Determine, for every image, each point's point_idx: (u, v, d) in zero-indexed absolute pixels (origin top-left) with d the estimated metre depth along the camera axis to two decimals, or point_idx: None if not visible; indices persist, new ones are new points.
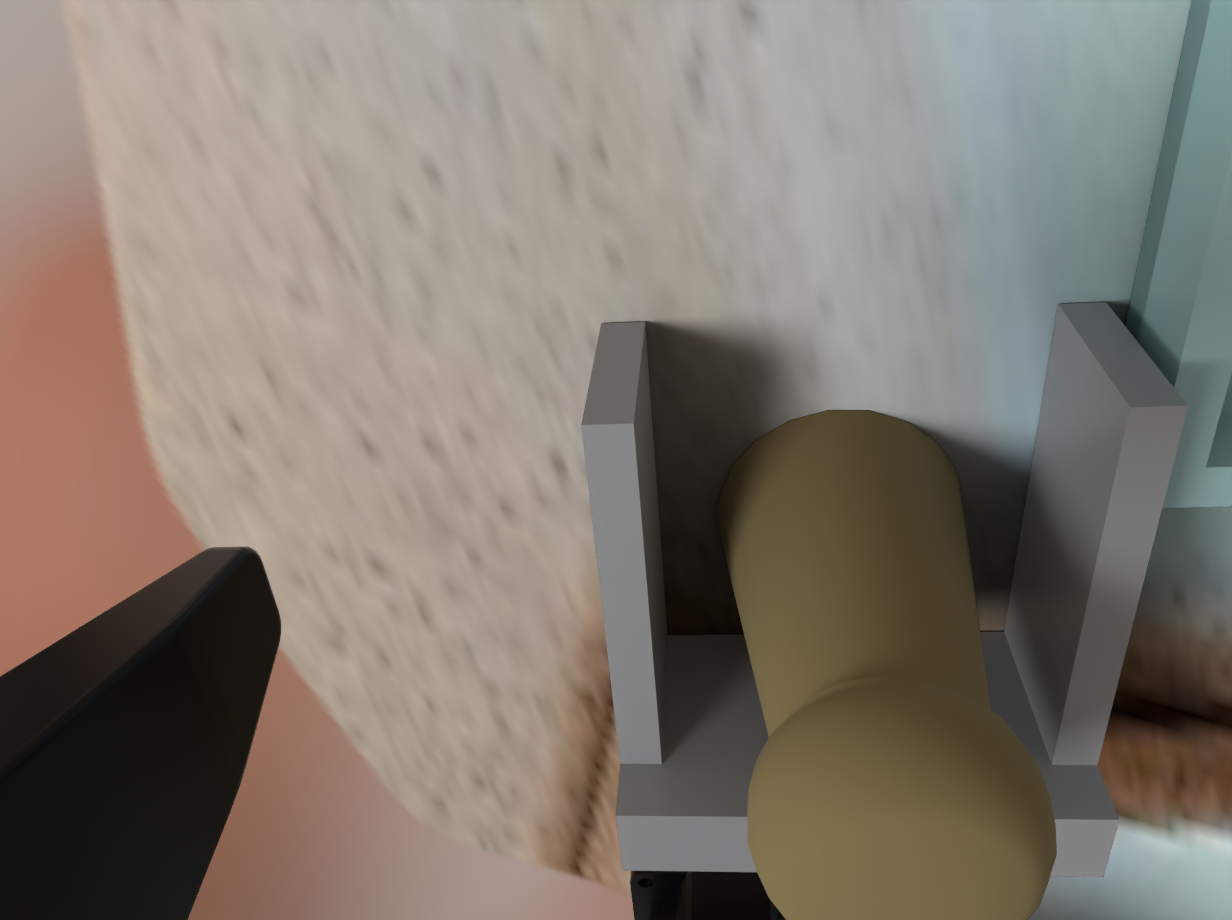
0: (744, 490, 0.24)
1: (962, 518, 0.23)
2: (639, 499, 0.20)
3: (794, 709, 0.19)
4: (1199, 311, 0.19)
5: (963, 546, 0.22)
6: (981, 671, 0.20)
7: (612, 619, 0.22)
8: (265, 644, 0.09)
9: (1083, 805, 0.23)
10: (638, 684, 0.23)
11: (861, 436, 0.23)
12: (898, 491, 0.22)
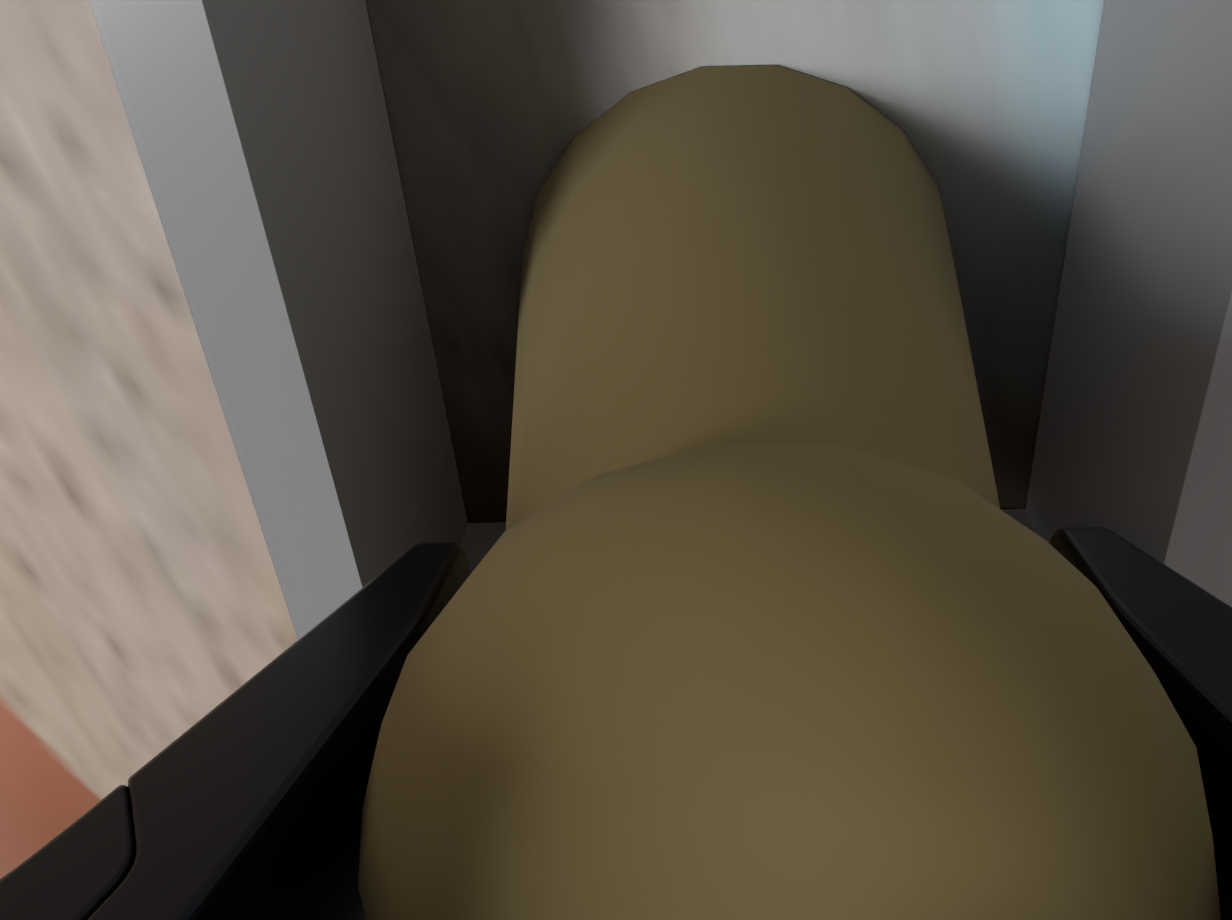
0: (544, 214, 0.13)
1: (950, 245, 0.12)
2: (235, 118, 0.09)
3: None
4: None
5: (951, 278, 0.11)
6: (989, 476, 0.08)
7: (243, 420, 0.11)
8: None
9: None
10: (325, 563, 0.12)
11: (755, 92, 0.12)
12: (818, 160, 0.11)
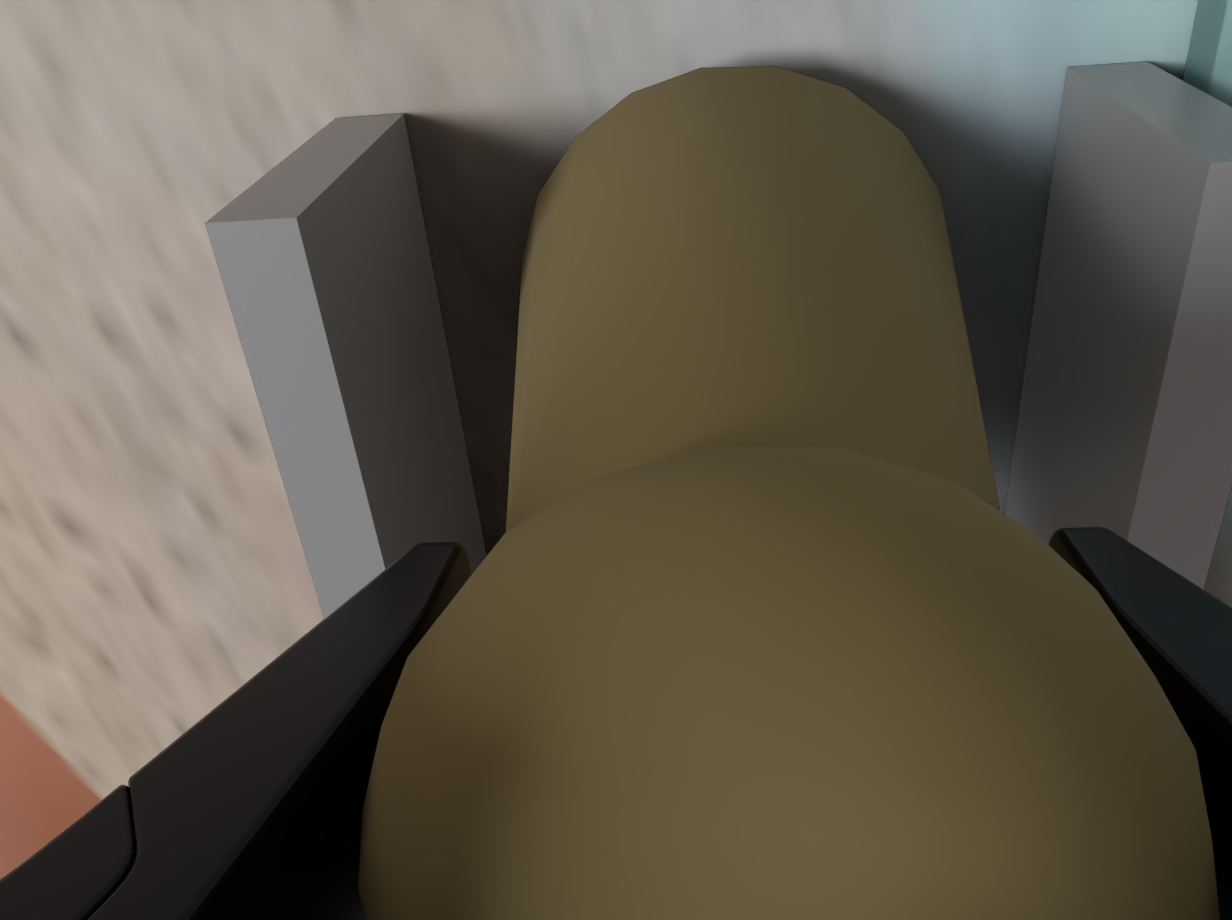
0: (544, 216, 0.13)
1: (949, 247, 0.12)
2: (335, 370, 0.12)
3: None
4: None
5: (951, 279, 0.11)
6: (989, 478, 0.08)
7: (329, 588, 0.13)
8: None
9: None
10: None
11: (755, 93, 0.12)
12: (818, 161, 0.11)
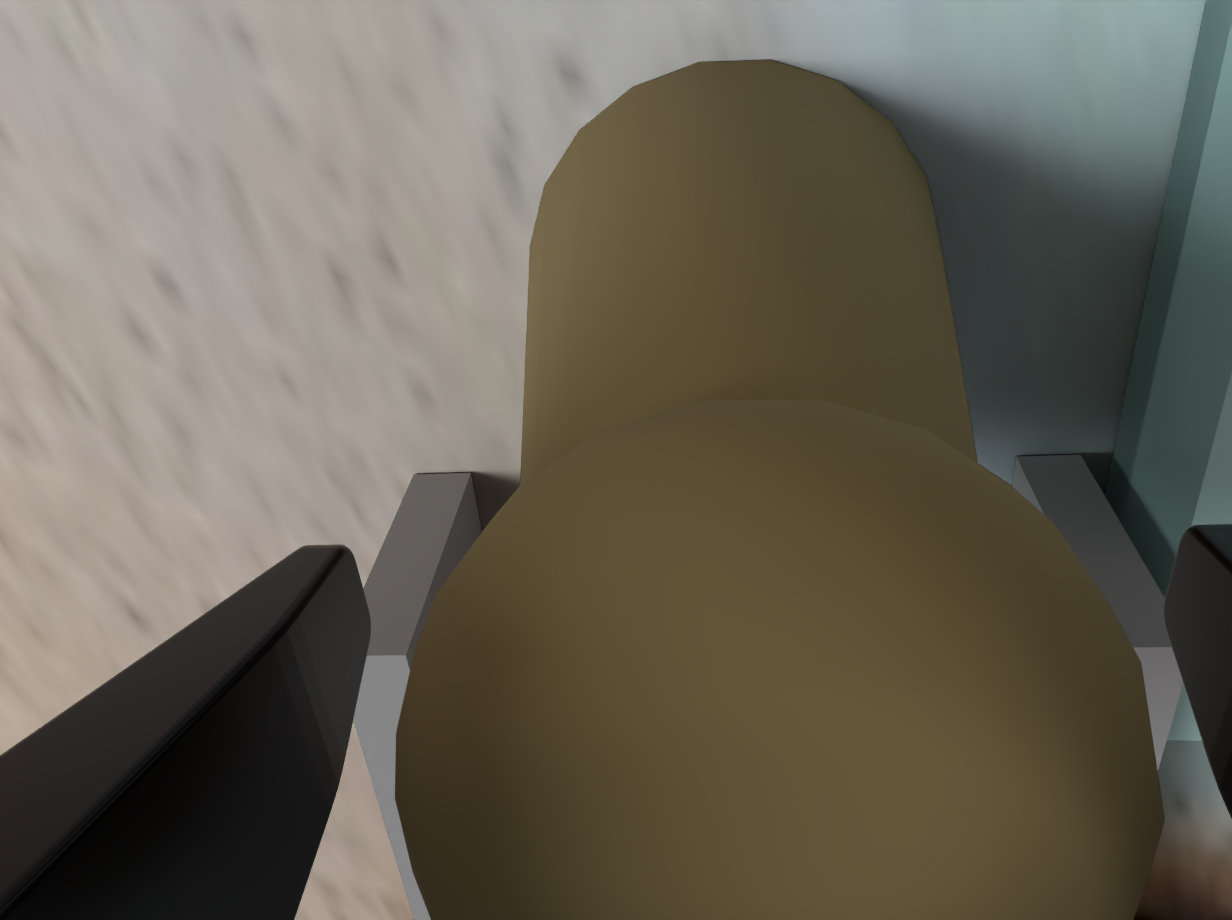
0: (551, 203, 0.14)
1: (935, 228, 0.13)
2: None
3: None
4: (1208, 498, 0.13)
5: (935, 258, 0.12)
6: (967, 436, 0.09)
7: (414, 885, 0.16)
8: (358, 643, 0.09)
9: None
10: None
11: (750, 85, 0.13)
12: (808, 148, 0.12)
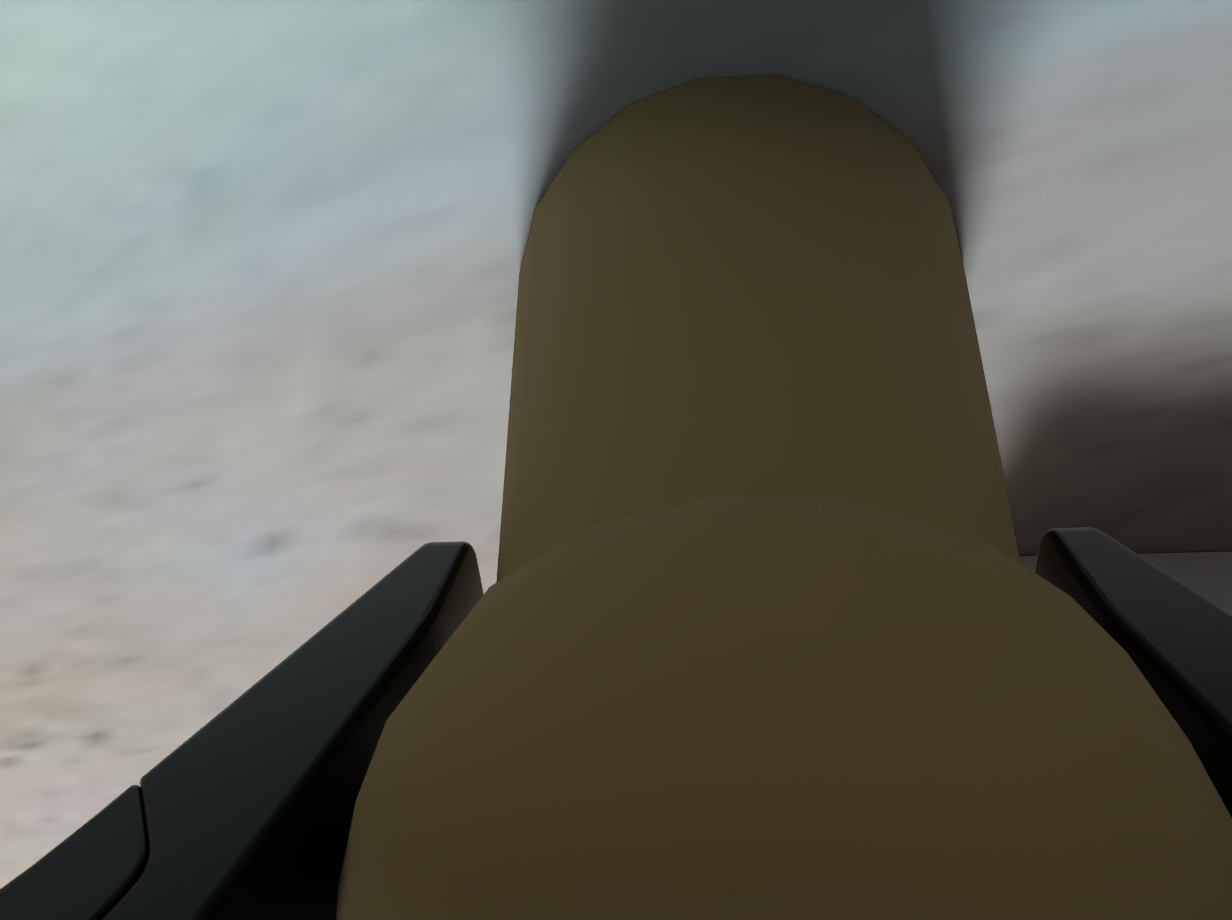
0: None
1: (627, 166, 0.11)
2: None
3: None
4: None
5: (616, 217, 0.10)
6: (620, 417, 0.08)
7: None
8: None
9: None
10: None
11: None
12: (519, 336, 0.12)
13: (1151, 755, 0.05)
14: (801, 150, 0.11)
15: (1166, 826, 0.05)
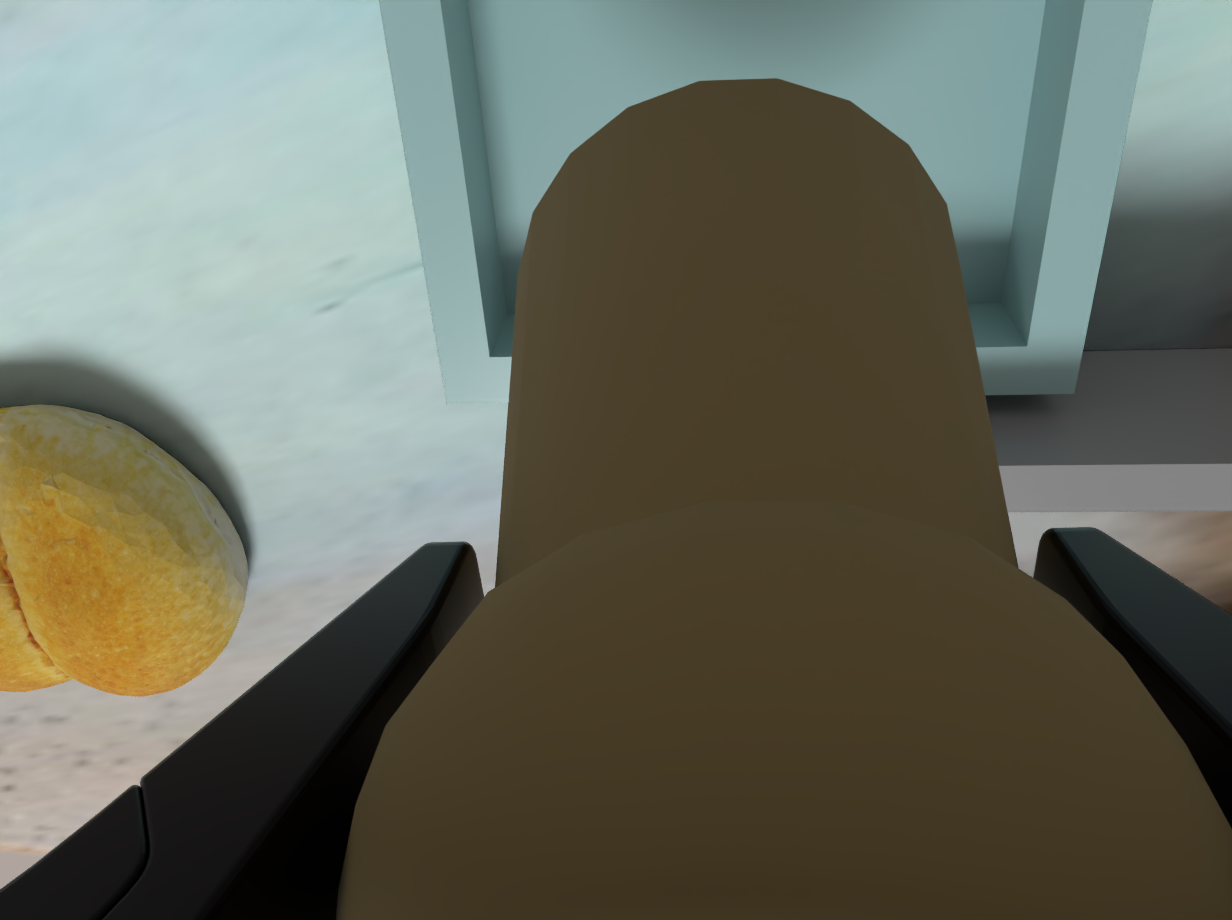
0: None
1: (624, 169, 0.11)
2: None
3: None
4: None
5: (614, 220, 0.11)
6: (618, 421, 0.08)
7: None
8: None
9: None
10: None
11: None
12: (517, 339, 0.12)
13: (1147, 760, 0.05)
14: (798, 153, 0.11)
15: (1162, 831, 0.05)
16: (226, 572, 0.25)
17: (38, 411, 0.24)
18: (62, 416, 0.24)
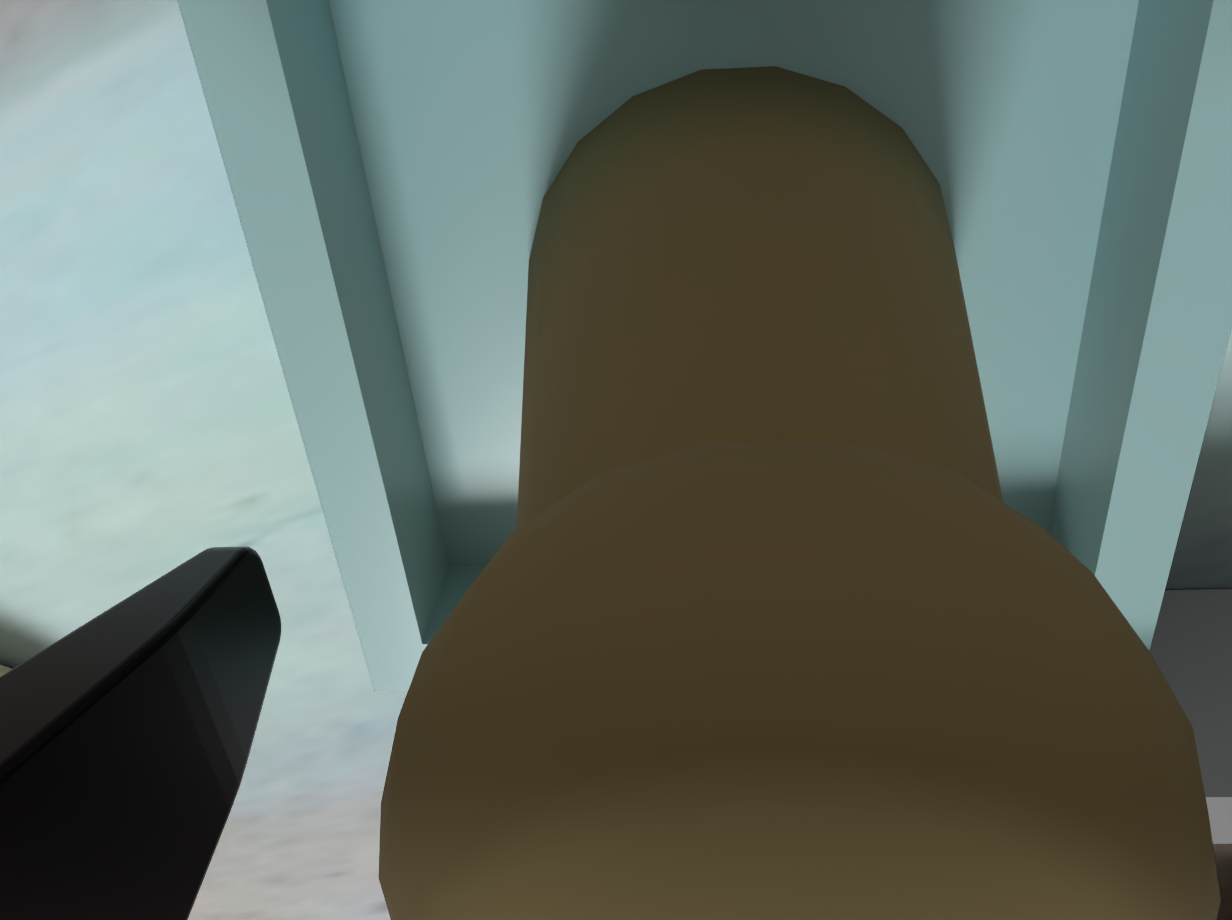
0: None
1: (631, 153, 0.12)
2: None
3: None
4: None
5: (622, 201, 0.11)
6: (630, 381, 0.08)
7: None
8: (265, 644, 0.09)
9: None
10: None
11: None
12: (531, 317, 0.12)
13: (1110, 654, 0.05)
14: (796, 135, 0.11)
15: (1121, 712, 0.05)
16: None
17: None
18: None
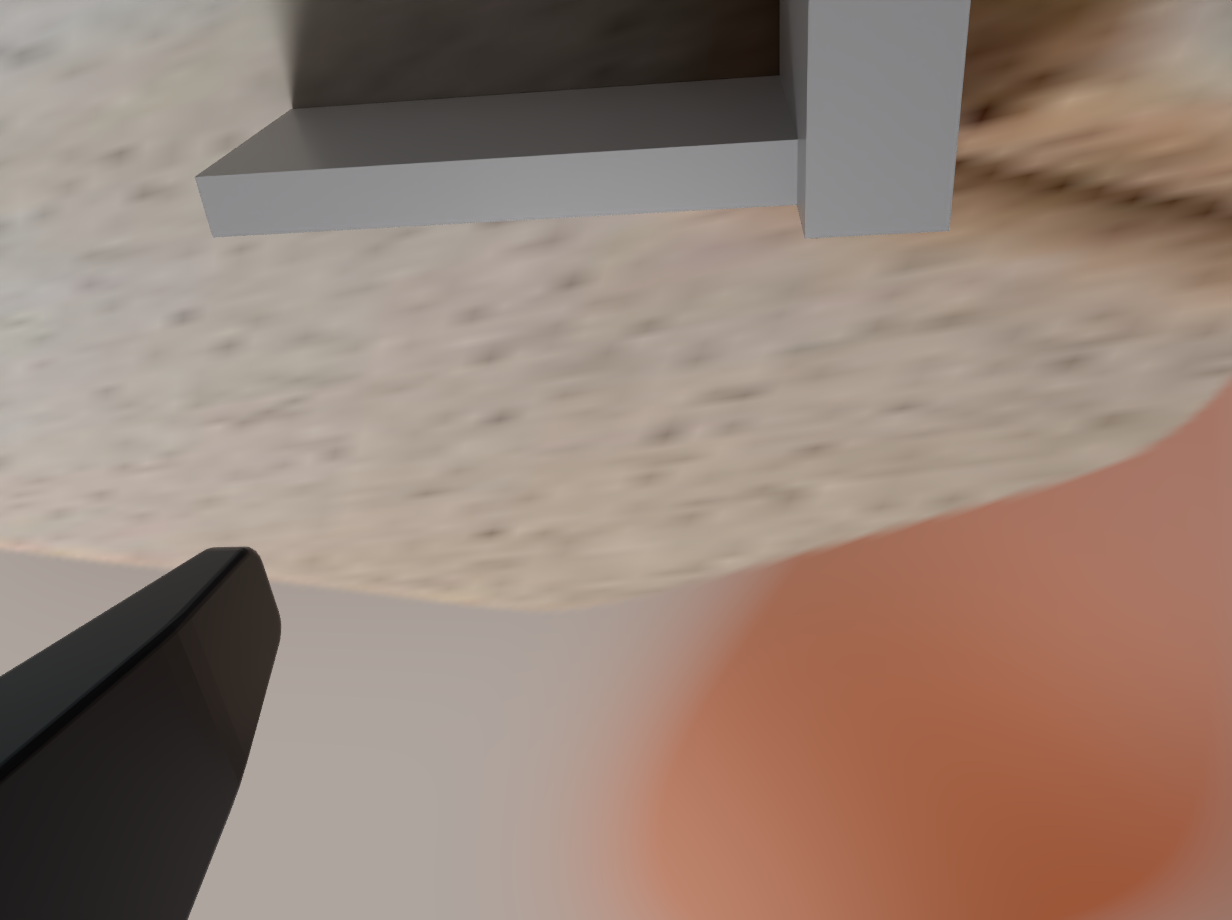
0: None
1: None
2: (304, 170, 0.16)
3: None
4: None
5: None
6: None
7: (503, 209, 0.16)
8: (265, 644, 0.09)
9: None
10: (623, 174, 0.16)
11: None
12: None
13: None
14: None
15: None
16: None
17: None
18: None
